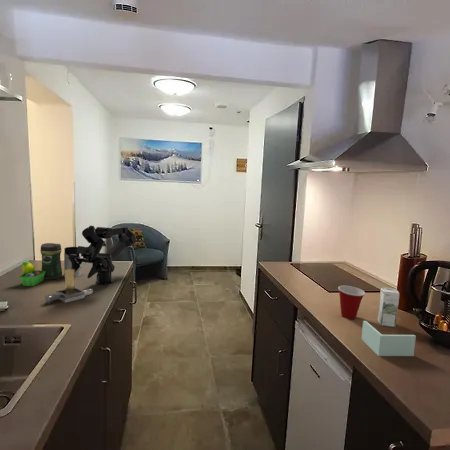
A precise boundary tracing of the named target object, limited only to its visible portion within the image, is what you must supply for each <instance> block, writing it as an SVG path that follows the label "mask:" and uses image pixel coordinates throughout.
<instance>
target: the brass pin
mask: <svg viewBox="0 0 450 450" xmlns="http://www.w3.org/2000/svg"><path fill="white" fill-rule="evenodd" d="M64 273H65V276H64V283H65V284H64V289H65V295H69V294H73V293H75V288H76V277H75V269H72V268H71V269H65V271H64Z"/></svg>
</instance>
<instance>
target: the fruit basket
mask: <svg viewBox="0 0 450 450" xmlns="http://www.w3.org/2000/svg"><path fill="white" fill-rule="evenodd" d="M35 268H36V267H35V265H34V264H32V263H31V262H30V261H28V260H26V261H25V260H24V261H23V262H22V265H21V271H22V272H23V274H21V275H19V278H20V280H21V284H22V286H23V287H24V286H25V287H35V286H37V285H38V284H40V283H42V282H43V281H44V280H45V279H44V275H45V272H46V271H42V270H35Z"/></svg>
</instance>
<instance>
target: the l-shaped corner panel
mask: <svg viewBox="0 0 450 450" xmlns="http://www.w3.org/2000/svg"><path fill="white" fill-rule="evenodd" d="M361 328H362V329H361V340H362V341H363V342H364V343H365V344H366V346H367V347H369V349H371V350H372V351H373V352H374V353H375V355H377V356H378V357H414V355H415V348H416V347H415V346H416V339H417V338H416V337H417V336H416V335H415V334H382V333H381V332H379V330H377V329H376V328H375V327H374V326H373V325H371V324H370V323H369V322H368V321H367V320H362V327H361Z"/></svg>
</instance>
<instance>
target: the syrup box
mask: <svg viewBox="0 0 450 450" xmlns="http://www.w3.org/2000/svg"><path fill="white" fill-rule="evenodd" d="M379 294H380V296H379V303H378V313H377V322H378V324H379V325H380V327H389V328H396V326H397V317H398V310H399V302H400V301H399V300H400V292H399V291H398V289H396V288H389V287H381V288H380V293H379Z"/></svg>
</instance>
